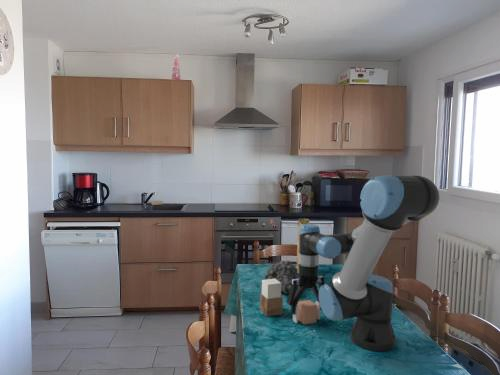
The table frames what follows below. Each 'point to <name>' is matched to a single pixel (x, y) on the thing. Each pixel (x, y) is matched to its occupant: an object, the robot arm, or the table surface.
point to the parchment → (300, 223)
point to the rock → (283, 274)
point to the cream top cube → (271, 288)
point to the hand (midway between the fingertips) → (306, 319)
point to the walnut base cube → (271, 305)
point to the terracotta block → (307, 312)
